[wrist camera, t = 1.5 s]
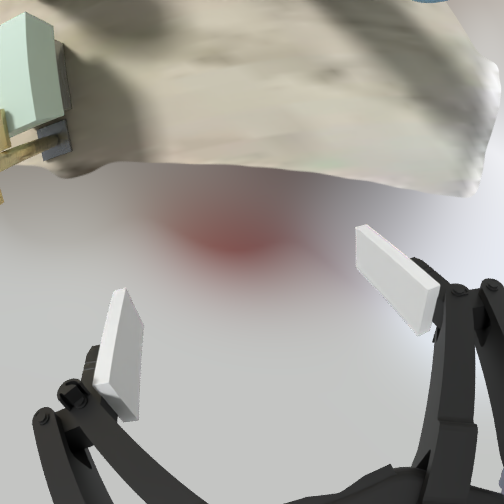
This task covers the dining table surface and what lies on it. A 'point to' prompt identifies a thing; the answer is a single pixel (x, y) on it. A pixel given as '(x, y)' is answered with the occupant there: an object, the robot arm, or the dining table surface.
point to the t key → (20, 147)
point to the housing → (61, 126)
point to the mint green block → (28, 73)
